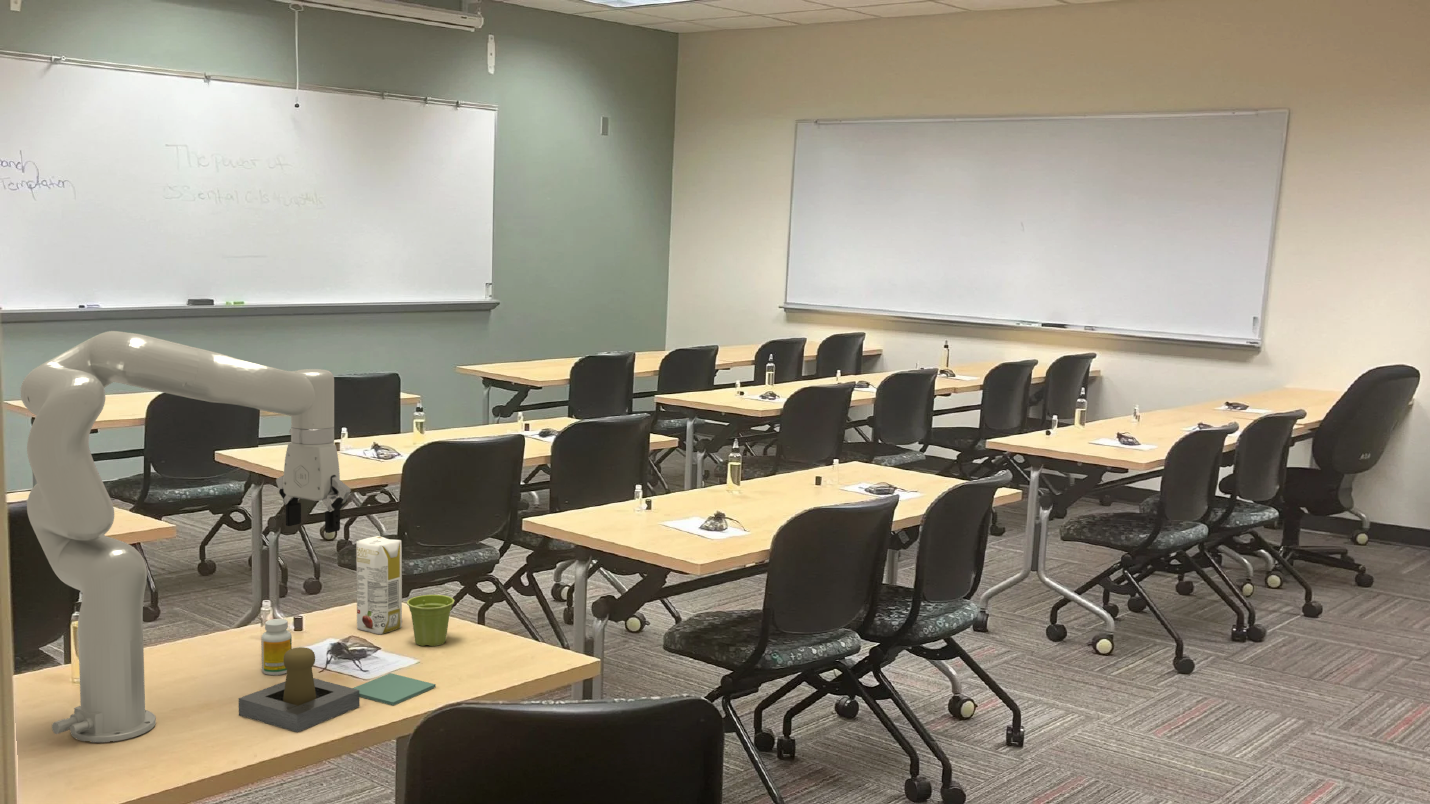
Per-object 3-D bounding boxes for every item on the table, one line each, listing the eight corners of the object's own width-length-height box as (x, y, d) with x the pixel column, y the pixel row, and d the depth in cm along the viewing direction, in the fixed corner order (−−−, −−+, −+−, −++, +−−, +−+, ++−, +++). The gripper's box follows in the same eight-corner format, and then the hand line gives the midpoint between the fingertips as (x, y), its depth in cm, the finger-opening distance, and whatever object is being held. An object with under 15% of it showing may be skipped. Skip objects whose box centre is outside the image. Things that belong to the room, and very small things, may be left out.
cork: (324, 711, 215) (324, 649, 214) (292, 720, 210) (291, 657, 209) (307, 702, 219) (306, 641, 218) (274, 710, 215) (274, 648, 213)
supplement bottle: (257, 669, 235) (256, 620, 233) (285, 664, 238) (285, 615, 237) (267, 677, 230) (267, 627, 229) (296, 672, 234) (295, 622, 233)
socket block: (297, 732, 205) (297, 714, 205) (238, 715, 212) (238, 698, 212) (359, 706, 217) (359, 690, 217) (302, 691, 224) (301, 674, 224)
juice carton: (380, 636, 256) (380, 546, 254) (351, 629, 261) (350, 540, 258) (407, 627, 263) (407, 539, 261) (377, 620, 267) (377, 534, 265)
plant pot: (463, 642, 254) (463, 601, 253) (425, 652, 247) (425, 610, 246) (435, 632, 260) (436, 592, 259) (397, 642, 253) (397, 600, 252)
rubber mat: (393, 705, 218) (393, 702, 218) (347, 693, 224) (347, 690, 224) (435, 687, 228) (435, 684, 228) (390, 676, 233) (390, 672, 233)
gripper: (262, 434, 229) (263, 525, 231) (333, 443, 221) (333, 538, 223) (293, 430, 235) (293, 519, 237) (363, 439, 228) (362, 530, 230)
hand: (312, 528), depth 230 cm, fingers open, 9 cm apart
